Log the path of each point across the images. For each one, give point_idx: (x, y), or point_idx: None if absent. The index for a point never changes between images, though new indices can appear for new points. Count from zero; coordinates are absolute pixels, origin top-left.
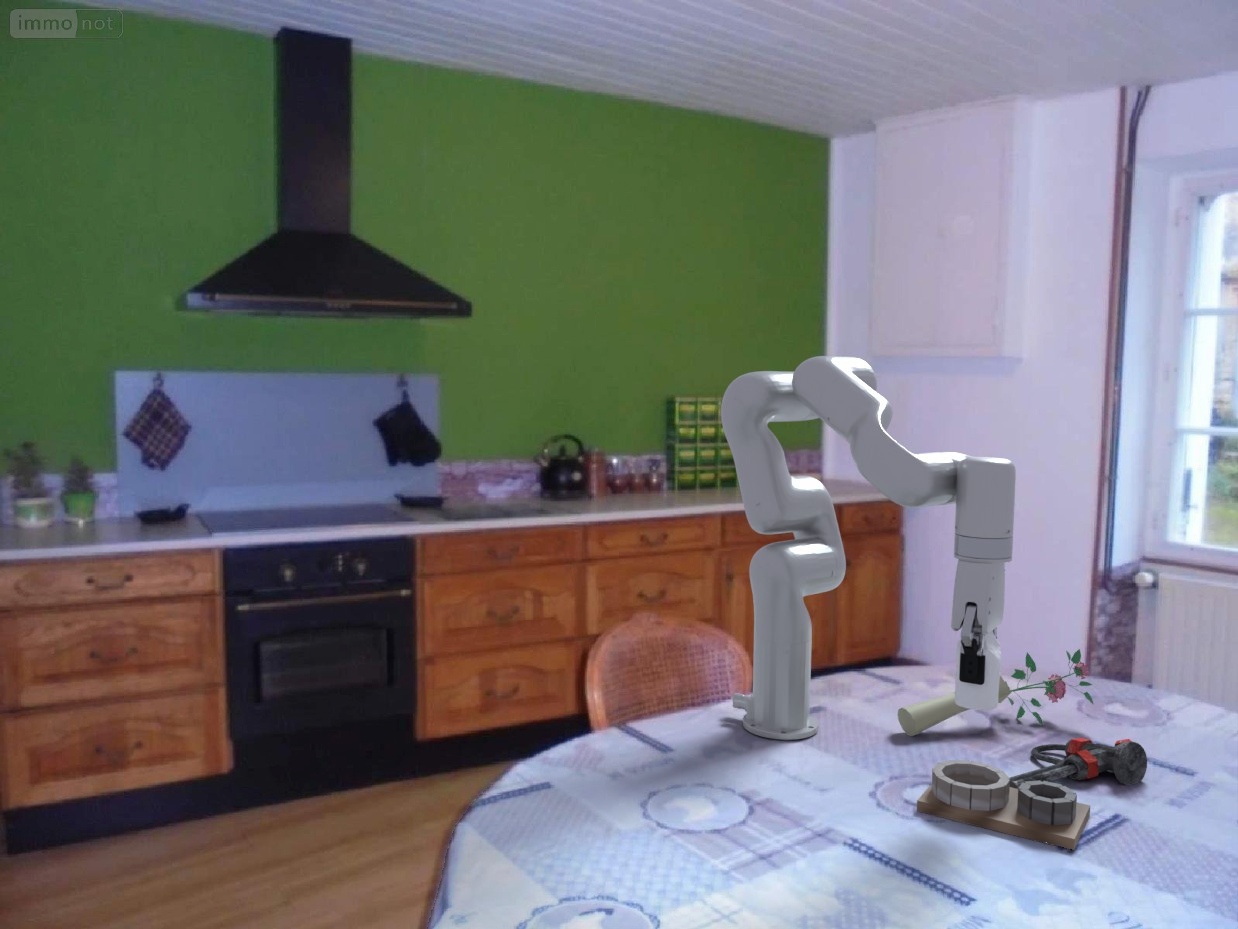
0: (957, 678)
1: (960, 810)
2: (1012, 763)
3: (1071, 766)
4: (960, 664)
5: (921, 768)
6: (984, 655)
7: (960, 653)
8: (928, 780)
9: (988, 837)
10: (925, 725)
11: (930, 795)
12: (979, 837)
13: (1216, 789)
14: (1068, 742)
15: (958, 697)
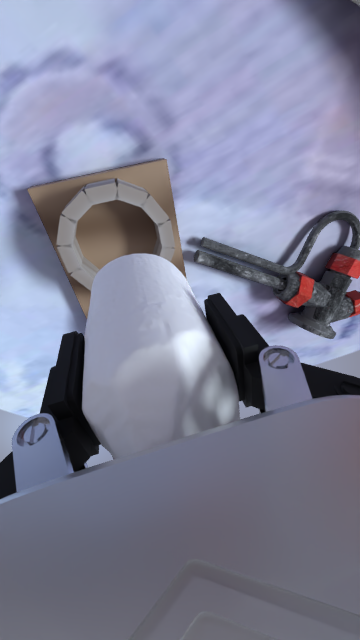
0: (92, 309)
1: (59, 253)
2: (292, 205)
3: (279, 287)
4: (56, 370)
5: (192, 95)
6: (97, 451)
7: (49, 402)
8: (153, 136)
9: (54, 292)
10: (357, 2)
11: (64, 195)
12: (44, 285)
13: (316, 358)
14: (355, 253)
15: (92, 289)
